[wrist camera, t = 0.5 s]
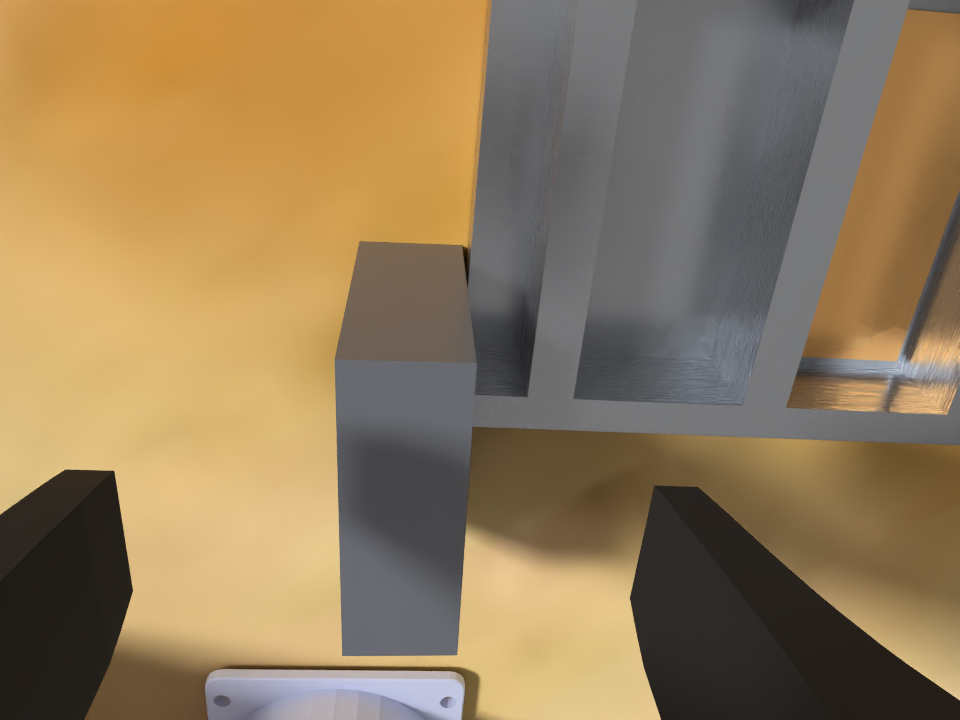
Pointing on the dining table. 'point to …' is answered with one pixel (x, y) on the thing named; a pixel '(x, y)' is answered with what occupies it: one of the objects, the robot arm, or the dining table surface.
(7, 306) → the dining table surface
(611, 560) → the dining table surface
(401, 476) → the block
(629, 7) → the rack
